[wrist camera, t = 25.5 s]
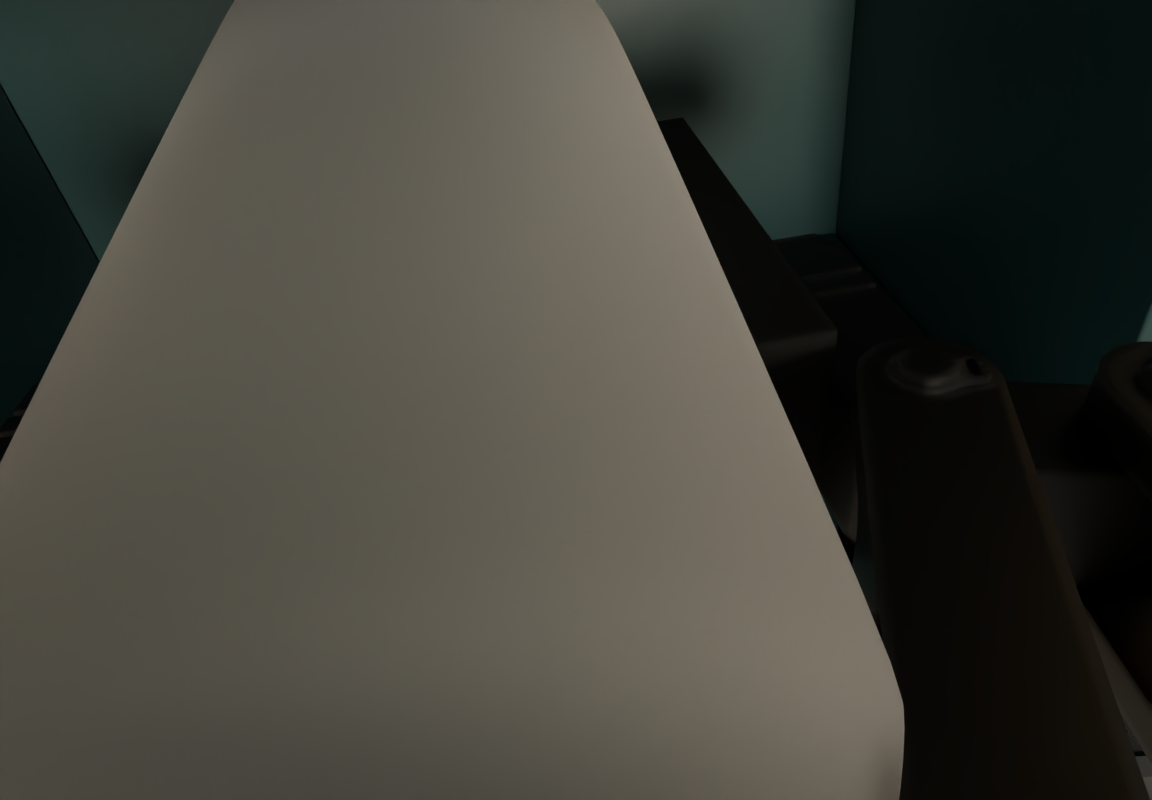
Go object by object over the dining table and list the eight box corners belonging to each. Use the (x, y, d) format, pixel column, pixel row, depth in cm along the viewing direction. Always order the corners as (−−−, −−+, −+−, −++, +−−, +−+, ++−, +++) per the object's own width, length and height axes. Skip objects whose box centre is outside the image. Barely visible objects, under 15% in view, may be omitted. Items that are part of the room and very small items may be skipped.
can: (378, 335, 15) (320, 1191, 7) (112, 33, 11) (-910, 1412, 3) (682, 198, 14) (1050, 1055, 6) (521, -211, 10) (1150, 1024, 1)
